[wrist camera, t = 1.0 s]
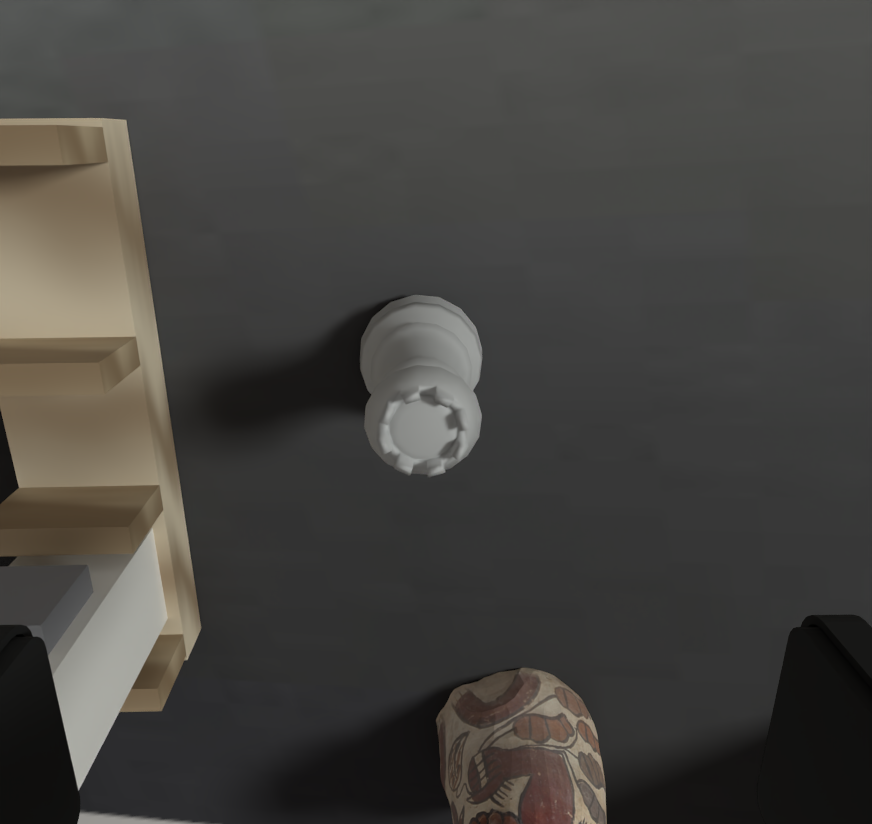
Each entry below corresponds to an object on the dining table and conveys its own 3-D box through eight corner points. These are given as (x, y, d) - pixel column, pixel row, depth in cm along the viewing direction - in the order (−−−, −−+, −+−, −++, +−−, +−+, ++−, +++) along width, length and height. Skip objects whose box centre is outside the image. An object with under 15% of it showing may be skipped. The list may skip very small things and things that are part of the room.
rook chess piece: (368, 413, 27) (350, 516, 20) (352, 298, 26) (327, 362, 18) (485, 402, 27) (512, 501, 20) (476, 285, 26) (502, 345, 18)
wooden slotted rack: (201, 628, 30) (162, 716, 26) (82, 631, 30) (21, 720, 26) (126, 119, 23) (54, 114, 19) (-30, 121, 23) (-141, 115, 19)
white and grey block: (167, 618, 28) (77, 793, 20) (63, 620, 28) (-66, 797, 20) (148, 504, 26) (42, 649, 19) (37, 505, 26) (-115, 652, 19)
